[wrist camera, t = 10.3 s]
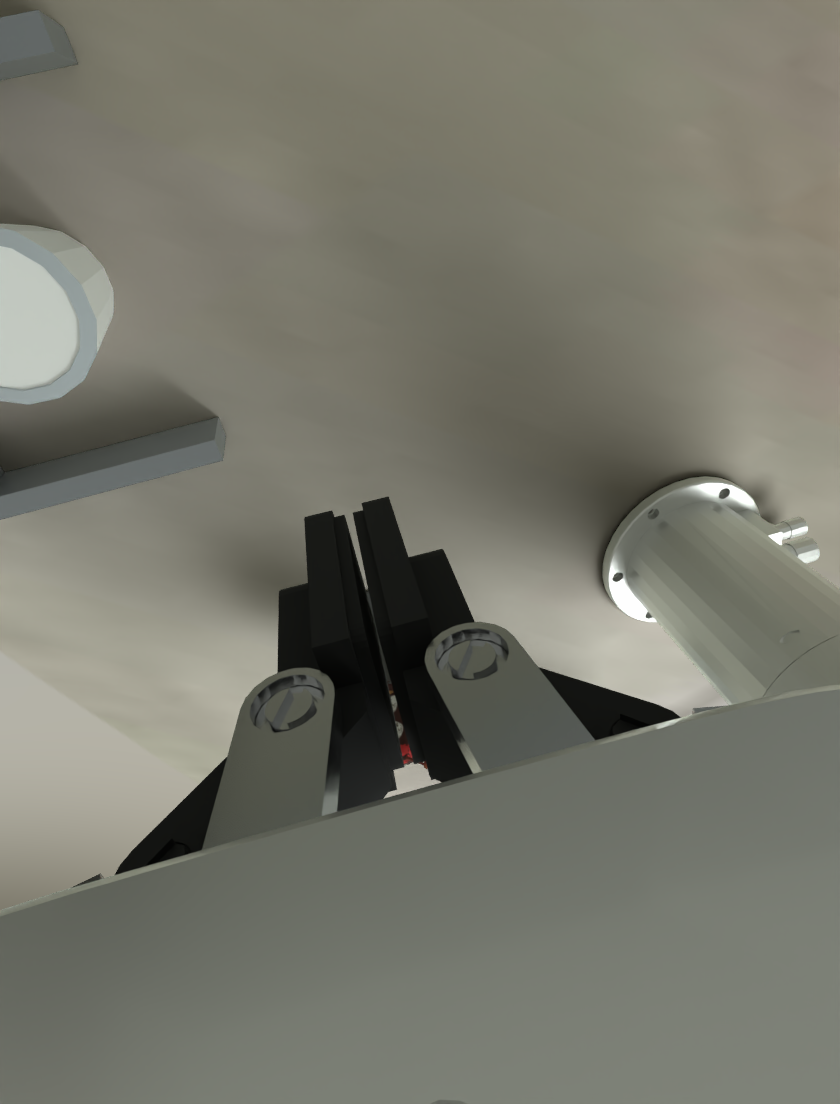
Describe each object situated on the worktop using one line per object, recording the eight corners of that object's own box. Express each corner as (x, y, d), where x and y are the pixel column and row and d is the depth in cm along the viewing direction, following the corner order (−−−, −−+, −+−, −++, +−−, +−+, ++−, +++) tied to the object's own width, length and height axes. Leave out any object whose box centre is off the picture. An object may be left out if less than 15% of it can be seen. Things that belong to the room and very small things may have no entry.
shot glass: (-68, 246, 28) (-153, 268, 22) (68, 185, 28) (18, 190, 22) (36, 383, 32) (-14, 431, 26) (156, 329, 32) (133, 365, 26)
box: (63, 27, 25) (38, 9, 22) (226, 436, 36) (222, 460, 33) (-272, 97, 24) (-345, 88, 21) (-5, 497, 35) (-30, 527, 32)
